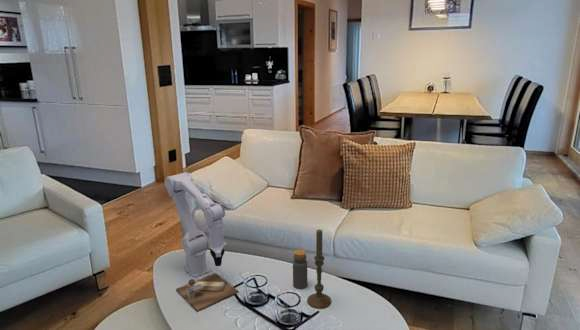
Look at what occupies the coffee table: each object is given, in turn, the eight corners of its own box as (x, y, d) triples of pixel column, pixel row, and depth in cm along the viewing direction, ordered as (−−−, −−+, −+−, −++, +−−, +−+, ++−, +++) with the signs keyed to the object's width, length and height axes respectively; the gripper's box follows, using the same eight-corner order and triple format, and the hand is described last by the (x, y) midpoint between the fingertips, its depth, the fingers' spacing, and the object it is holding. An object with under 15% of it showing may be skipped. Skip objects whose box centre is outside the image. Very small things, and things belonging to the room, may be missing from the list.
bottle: (306, 289, 155) (306, 256, 152) (291, 288, 157) (291, 254, 153) (308, 282, 161) (308, 249, 157) (294, 280, 162) (294, 247, 158)
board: (176, 290, 156) (176, 288, 156) (215, 274, 167) (215, 272, 167) (197, 312, 143) (197, 309, 143) (238, 293, 154) (238, 290, 154)
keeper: (187, 296, 150) (186, 288, 149) (201, 291, 154) (200, 283, 153) (190, 300, 148) (189, 292, 147) (204, 295, 151) (203, 287, 150)
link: (187, 289, 155) (186, 282, 154) (189, 285, 158) (189, 278, 157) (222, 290, 153) (222, 284, 153) (224, 286, 156) (224, 279, 156)
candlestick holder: (314, 311, 142) (315, 236, 134) (302, 298, 150) (302, 226, 142) (335, 304, 146) (337, 230, 138) (322, 292, 154) (323, 221, 146)
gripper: (228, 240, 150) (230, 272, 153) (224, 225, 163) (226, 255, 167) (209, 243, 148) (211, 275, 152) (207, 227, 162) (209, 257, 165)
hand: (218, 264), depth 159 cm, fingers closed
